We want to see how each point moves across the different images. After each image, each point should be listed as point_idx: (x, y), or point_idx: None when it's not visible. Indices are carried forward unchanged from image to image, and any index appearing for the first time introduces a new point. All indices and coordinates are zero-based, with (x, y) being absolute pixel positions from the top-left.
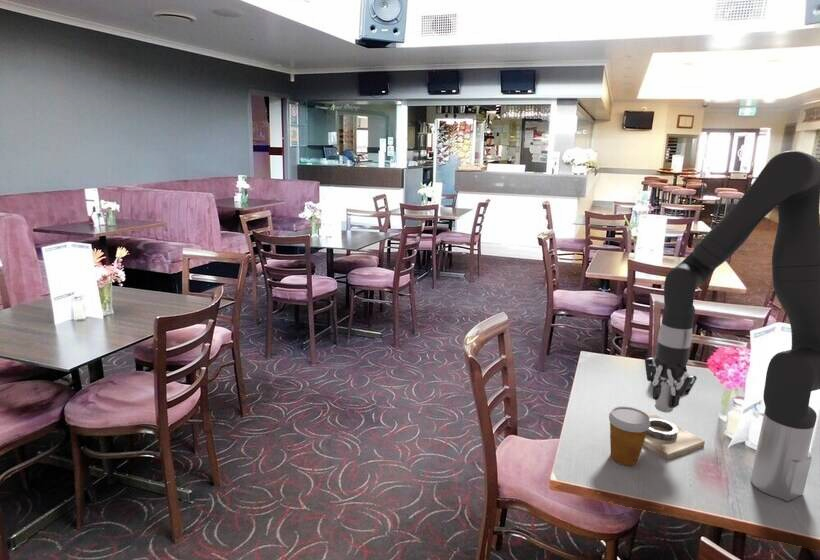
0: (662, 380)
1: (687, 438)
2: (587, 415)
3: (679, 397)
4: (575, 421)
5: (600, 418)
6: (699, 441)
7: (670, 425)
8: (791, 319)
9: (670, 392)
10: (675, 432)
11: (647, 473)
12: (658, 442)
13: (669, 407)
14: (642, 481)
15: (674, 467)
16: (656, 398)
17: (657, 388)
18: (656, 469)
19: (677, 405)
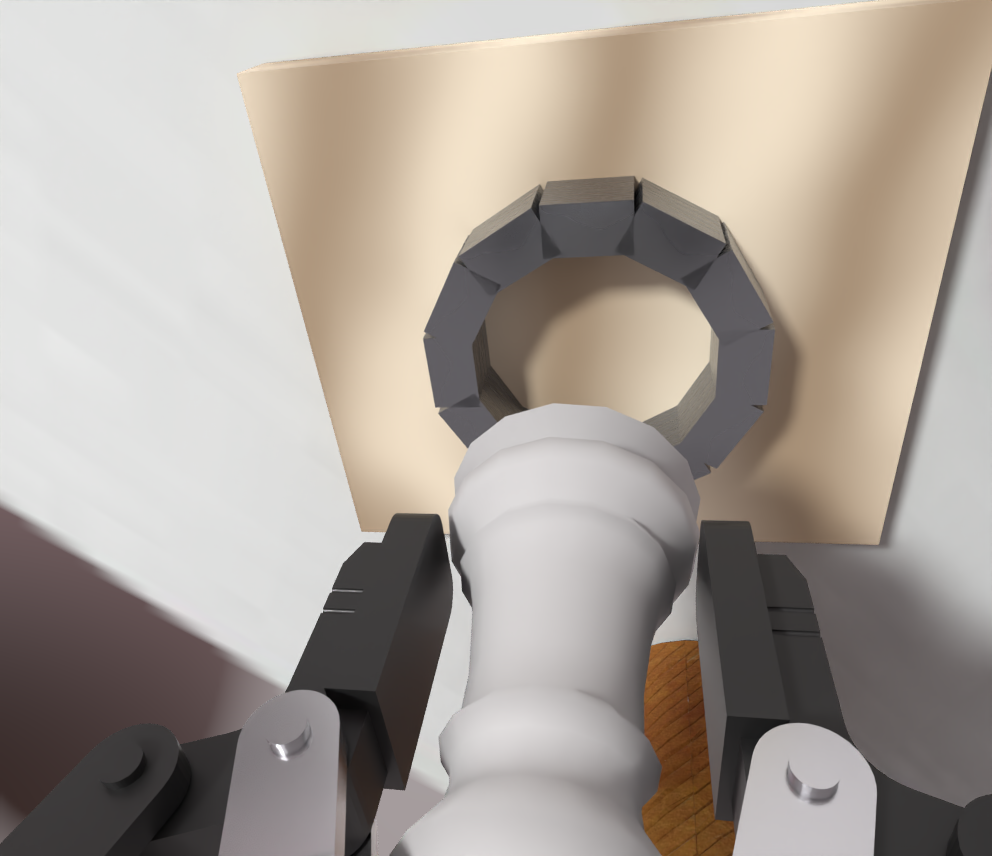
0: (340, 843)
1: (832, 172)
2: (163, 531)
3: (838, 712)
4: (232, 630)
5: (214, 489)
6: (965, 87)
7: (623, 254)
8: None
9: (646, 758)
10: (764, 342)
11: (876, 700)
12: (717, 478)
13: (688, 575)
14: (905, 760)
15: (961, 542)
16: (445, 588)
17: (406, 753)
18: (887, 640)
19: (796, 584)
